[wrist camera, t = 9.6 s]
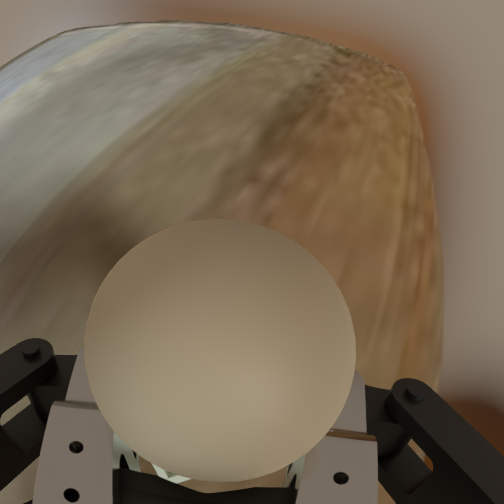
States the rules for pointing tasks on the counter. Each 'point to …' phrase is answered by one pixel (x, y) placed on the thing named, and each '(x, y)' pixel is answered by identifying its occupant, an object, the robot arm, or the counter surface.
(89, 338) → the dowel
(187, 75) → the counter surface
